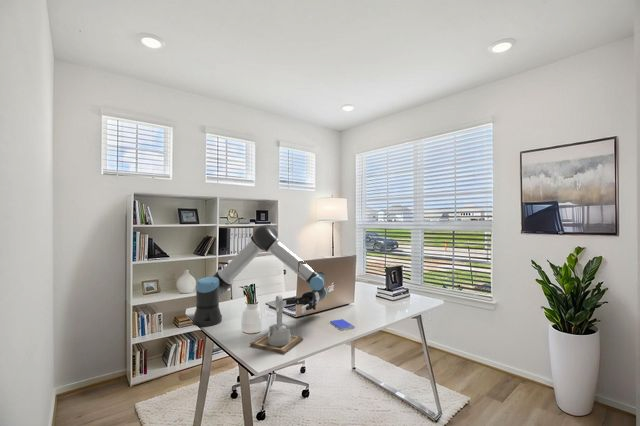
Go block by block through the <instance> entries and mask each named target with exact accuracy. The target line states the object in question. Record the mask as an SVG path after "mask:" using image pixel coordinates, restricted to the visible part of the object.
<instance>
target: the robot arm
mask: <svg viewBox="0 0 640 426" xmlns="http://www.w3.org/2000/svg"><path fill="white" fill-rule="evenodd" d="M278 235H279V234H278V230H277V229H276V227H275V226H273V225H271V224H264V225H260V226H257V227H256V228H255V229H254V231H253V234H252V235H251V236H250V241H249V242H248V243H247V244H246V245H245V246H244V247H243V248H242V249H241V251H240V252H239V253H238V254H237V255H236V256H235V257H234V258H233V259H232V260H230V261H229V263H228V264H227V265H226V266H225V267H224V268H223V269H219V270H217V271H216V272H215V273H214V274H213V276H205V277H202V278H200V279H198V280H197V281H196V287H195V290H196V291H195V292H196V294H195V295H196V298H195V302H196V304H195V312H194V315H193V318H192V325H193V326H196V327H212V326H214V325H218V324H220V323H222V321H223V316H222V314H221V309H220V306H219V305H220V302H219V301H220V297H221V296H222V295H224V294H225V293H227V292H228V290H229V288H230V287H232V285H233V284H234V280H235V279H236V277H238V276H239V275H240V273H242V271H244V270H245V268H246V267H247V266H248V265H250V263H252V261H253V260H254V259H255V258H257V256H258V255H259V254H260V253H261V252H267V253H271V254H272V255H273V256H274V257H275V258H277V259H278V260H279V261H280V262H281V263H282V264H284V265H285V266H286V267H288V269H290V270H291V271H293V273H295V274H296V275H297V276H298V277H299V278H301V279H302V280H304V281H305V282H306V283H307V284H308V285H309V286H310V288H311V290H309V291H306V292H304V293H302V295H301V296H300V297H297V296H293V297H287V298H283V308H284V307H286V306H288V305H297V306H299V305H301V312H300V314H304V313H306V312H308V311H309V310H313V311H314V310H316V306H317V305H318V302H321V301H323V300H324V299H326V297H327V294H328V291H327V289H326V287H325V279H326V278H325V276H326V273H325V274H324V272H318V273H317V272H315V271H314V270H313V269H312V268H313V267H311V266H309V265H308V264H307V263H306V264H301V263H300V267H299V272H298V262H299V261H303V260H302V259H301V258H300V257H299V256H297V254H295V253H294V252H293V251H291V250H290V249H289V247H286V246H285V245H284V244H283V243H281V242H280V238H278ZM298 274H299V275H298ZM312 289H313V290H312Z"/></svg>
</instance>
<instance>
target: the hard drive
mask: <svg viewBox="0 0 640 426" xmlns="http://www.w3.org/2000/svg"><path fill="white" fill-rule="evenodd" d="M329 323H330V324H331V325H333V326H334V327H336V328H337V329H338V330H339V331H345V330H351V329H355V328H356V327H355V326H354V325H353V324H351V323H350V322H349V321H346V320H345V319H342V318H341V319H335V320H330V321H329Z"/></svg>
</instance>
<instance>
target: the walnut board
mask: <svg viewBox="0 0 640 426" xmlns="http://www.w3.org/2000/svg"><path fill="white" fill-rule="evenodd" d="M268 334H269V332H267V333H266V334H264V335H262V336H260V337H259V338H257V339H255V340H253V341H252V342H250V343H249V346H250V347H252V348H256V349H261V350H265V351H269V352H274V353H278V354H282V355H285V354H287V353H288V352H290V351H291V350H292V349H294V348H295V347H297V345H299V344H300V343H302V342H303V341H304V338H303V337H301V336H296V335H291V341H290V343H288V344H287V345H283V346H273V345H270V344H269V343H268Z"/></svg>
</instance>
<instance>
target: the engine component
mask: <svg viewBox="0 0 640 426" xmlns="http://www.w3.org/2000/svg"><path fill="white" fill-rule="evenodd" d="M283 299H284V298H283V296H282V294H277V295H276V297H275V302H274V304H275V305H274V306H275V311H276V323H273V324H270V326H269V330H268V333H269V334H268V343H269V344H270V345H273V346H283V345H287V344H288V343H290V341H291V329H290V328H287V323H283V312H284V307H283Z"/></svg>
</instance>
